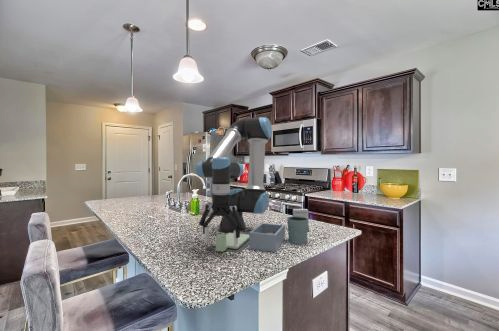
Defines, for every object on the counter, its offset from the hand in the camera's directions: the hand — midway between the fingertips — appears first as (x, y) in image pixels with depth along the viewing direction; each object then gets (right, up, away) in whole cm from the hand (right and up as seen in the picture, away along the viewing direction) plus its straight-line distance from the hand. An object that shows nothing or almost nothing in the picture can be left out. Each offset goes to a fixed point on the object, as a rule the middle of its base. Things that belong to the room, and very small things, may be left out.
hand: (221, 243), depth 106 cm
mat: (+4, -4, +12) cm, 13 cm away
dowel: (+22, -3, +13) cm, 26 cm away
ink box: (+42, -4, +38) cm, 56 cm away
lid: (+3, -3, +9) cm, 10 cm away
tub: (+21, -4, +10) cm, 23 cm away
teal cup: (+35, -4, +14) cm, 38 cm away
